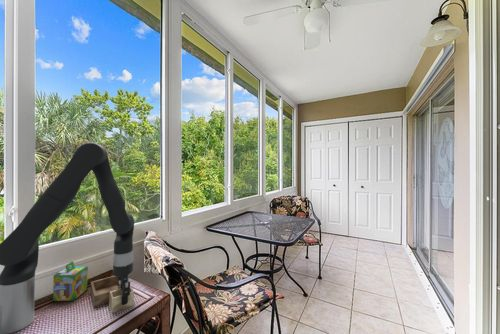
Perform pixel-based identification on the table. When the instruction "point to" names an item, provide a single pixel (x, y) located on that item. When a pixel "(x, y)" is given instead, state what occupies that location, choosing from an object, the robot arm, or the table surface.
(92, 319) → the table surface
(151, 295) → the table surface
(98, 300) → the walnut crate
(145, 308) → the table surface
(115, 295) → the pine crate
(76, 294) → the chalk box
